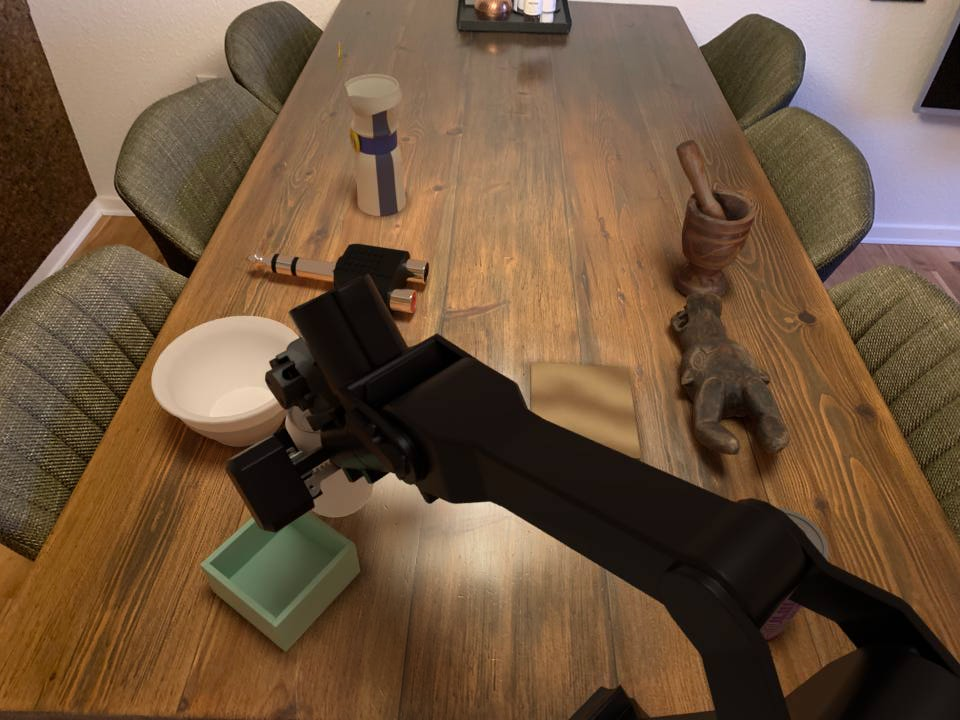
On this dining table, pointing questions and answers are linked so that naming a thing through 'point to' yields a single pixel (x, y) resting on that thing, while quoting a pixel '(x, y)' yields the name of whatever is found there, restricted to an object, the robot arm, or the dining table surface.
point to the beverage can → (789, 607)
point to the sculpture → (723, 379)
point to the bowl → (223, 378)
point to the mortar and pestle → (709, 228)
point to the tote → (282, 574)
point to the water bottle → (376, 143)
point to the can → (336, 488)
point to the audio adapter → (357, 271)
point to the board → (587, 402)
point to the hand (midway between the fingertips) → (321, 437)
